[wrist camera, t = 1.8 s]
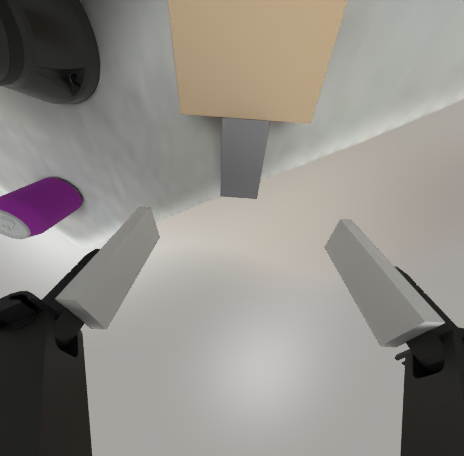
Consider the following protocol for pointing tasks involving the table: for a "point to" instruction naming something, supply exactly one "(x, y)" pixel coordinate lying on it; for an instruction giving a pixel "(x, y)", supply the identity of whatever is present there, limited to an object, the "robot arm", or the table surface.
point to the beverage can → (37, 207)
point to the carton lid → (251, 71)
